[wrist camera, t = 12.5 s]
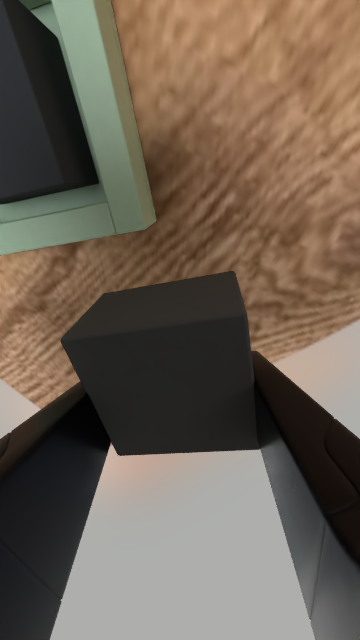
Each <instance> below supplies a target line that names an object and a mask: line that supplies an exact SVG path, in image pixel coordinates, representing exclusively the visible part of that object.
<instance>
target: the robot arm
mask: <svg viewBox="0 0 360 640" xmlns="http://www.w3.org/2000/svg"><path fill="white" fill-rule="evenodd" d="M251 355H252V364H253V373H254V396H255V411H256V426H257V439H258V442H259V446H260V449H261V452H262V456H263V459H264V463H265V467H266V470H267V473H268V477H269V480H270V484H271V487H272V491H273V494H274V498H275V501H276V505H277V508H278V511H279V515H280V519H281V522H282V525H283V529H284V532H285V536H286V539H287V542H288V546H289V550H290V553H291V557H292V560H293V563H294V567H295V570H296V574H297V577H298V580H299V584H300V587H301V591H302V595H303V598H304V601H305V605H306V608H307V612H308V615H309V618H310V620H311V626H312V629H313V632H314V636H315V640H360V439H359V438H358V437H357V436H355V435H354V434H353V433H352V432H351V431H349V430H348V429H347V428H346V427H345V426H344V425H342V424H341V423H340V422H339V421H338V420H336V419H334V417H333V416H332V415H331V414H329V413H328V412H327V411H326V410H325V409H324V408H322V407H321V406H320V405H319V404H318V403H317V402H316V401H314V400H313V399H312V398H311V397H310V396H309V395H307V394H306V393H305V392H304V391H303V390H302V389H301V388H299V387H298V386H297V385H296V384H295V383H294V382H292V381H291V380H290V379H289V378H288V377H286V376H285V375H284V374H283V373H282V372H281V371H280V370H278V369H277V368H276V367H275V366H274V365H273V364H272V363H270V362H269V361H268V360H267V359H266V358H265V357H263V356H262V355H261V354H260V353H259V352H258V351H251ZM110 444H111V440H110V438H109V436H108V434H107V432H106V430H105V428H104V426H103V423H102V421H101V419H100V417H99V415H98V413H97V411H96V408H95V406H94V404H93V402H92V400H91V398H90V396H89V394H88V393H86V391H85V389H84V387H83V385H82V383H81V381H80V382H79V383H77V384H76V385H74V386H73V387H72V388H70V389H69V390H67V391H66V392H65V393H63V394H62V395H61V396H59V397H58V398H56V399H55V400H54V401H52V402H51V403H50V404H48V405H47V406H45V407H44V408H43V409H41V410H40V411H38V412H37V413H36V414H34V415H33V416H32V417H30V418H29V419H27V420H26V421H25V422H23V423H22V424H20V425H19V426H18V427H16V428H15V429H14V430H12V432H11V433H8V434H7V435H5V436H4V437H3V438H1V439H0V640H50V636H51V634H52V630H53V627H54V624H55V621H56V618H57V614H58V611H59V608H60V605H61V599H62V597H63V594H64V591H65V588H66V585H67V581H68V578H69V575H70V572H71V569H72V565H73V562H74V559H75V556H76V553H77V549H78V546H79V543H80V540H81V537H82V533H83V530H84V526H85V524H86V520H87V517H88V514H89V511H90V508H91V505H92V501H93V498H94V495H95V492H96V488H97V485H98V482H99V479H100V475H101V472H102V469H103V466H104V463H105V460H106V456H107V453H108V450H109V447H110Z"/></svg>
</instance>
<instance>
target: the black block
mask: <svg viewBox="0 0 360 640" xmlns="http://www.w3.org/2000/svg"><path fill="white" fill-rule="evenodd" d="M61 343H62V345H63V347H64V349H65V351H66V353H67V355H68V357H69V359H70V361H71V363H72V365H73V367H74V369H75V371H76V373H77V375H78V377H79V379H80V381H81V383H82V385H83V387H84V389H85V391H86V393H88V394H89V396H90V398H91V400H92V402H93V404H94V406H95V408H96V411H97V413H98V415H99V417H100V419H101V421H102V423H103V426H104V428H105V430H106V432H107V434H108V436H109V438H110V440H111V443H112V445H113V446H114V448H115V450H116V452H117V454H118V455H120V456H122V455H123V456H125V455H146V454H169V453H192V452H213V451H235V450H258V449H260V446H259V442H258V439H257V426H256V411H255V396H254V373H253V364H252V355H251V346H250V337H249V328H248V319H247V313H246V309H245V305H244V302H243V298H242V295H241V291H240V288H239V284H238V281H237V277H236V274H235V272H234V271H230V272H224V273H218V274H212V275H207V276H201V277H195V278H190V279H184V280H178V281H173V282H167V283H161V284H156V285H150V286H144V287H139V288H133V289H127V290H122V291H116V292H110V293H105V294H103V295H102V296H101V297H100V298H99V299H98V300H97V301H96V302H95V303H94V305H93V306H92V307H91V308H90V309H89V310H88V311H87V312H86V313H85V314H84V315H83V316H82V317H81V318H80V319H79V320H78V321H77V322H76V323H75V324H74V326H73V327H72V328H71V329H70V330H69V331H68V332H67V333H66V334H65V335H64V336H63V337H62V338H61Z"/></svg>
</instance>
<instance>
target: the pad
mask: <svg viewBox="0 0 360 640" xmlns="http://www.w3.org/2000/svg"><path fill="white" fill-rule="evenodd" d="M95 184H99V180H98V176H97V173H96V169H95V166H94V162H93V159H92V155H91V152H90V148H89V145H88V141H87V138H86V134H85V131H84V127H83V124H82V120H81V117H80V113H79V110H78V106H77V103H76V100H75V96H74V93H73V89H72V86H71V82H70V79H69V75H68V72H67V68H66V65H65V61H64V58H63V54H62V51H61V47H60V44H59V40H58V38H57V36H56V35H55V34H54V33H53V32H51V31H50V30H49V29H48V28H47V27H46V26H45V25H44V24H43V23H42V22H41V21H40V20H39V19H38V18H37V17H36V16H35V15H34V14H33V13H32V12H31V11H30V10H29V9H27V8H26V7H25V6H24V5H23V4H22V3H21V2H20V1H19V0H0V204H8V203H13V202H17V201H22V200H26V199H31V198H36V197H40V196H45V195H49V194H54V193H58V192H63V191H68V190H72V189H77V188H81V187H86V186H90V185H95Z"/></svg>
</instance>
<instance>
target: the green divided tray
mask: <svg viewBox="0 0 360 640" xmlns="http://www.w3.org/2000/svg"><path fill="white" fill-rule="evenodd" d="M19 1H20V2H21V3H22V4H23V5H24V6H25V7H26V8H27V9H29V10H30V11H31V12H32V13H33V14H34V15H35V16H36V17H37V18H38V19H39V20H40V21H41V22H42V23H43V24H44V25H45V26H46V27H47V28H48V29H49V30H50V31H51V32H53V33H54V34H55V35H56V36H57V38H58V40H59V44H60V47H61V51H62V54H63V58H64V61H65V65H66V68H67V72H68V75H69V79H70V82H71V86H72V89H73V93H74V96H75V100H76V103H77V106H78V110H79V113H80V117H81V120H82V124H83V127H84V131H85V134H86V138H87V141H88V145H89V148H90V152H91V155H92V159H93V162H94V166H95V169H96V173H97V176H98V180H99V184H95V185H90V186H86V187H81V188H77V189H72V190H68V191H63V192H58V193H54V194H49V195H45V196H40V197H36V198H31V199H26V200H22V201H17V202H13V203H8V204H0V256H1V255H6V254H12V253H18V252H23V251H29V250H34V249H40V248H45V247H51V246H57V245H62V244H68V243H73V242H79V241H85V240H90V239H96V238H101V237H107V236H112V235H116V234H124V233H130V232H135V231H141V230H145V229H147V228H148V227H149V226H151V225H152V224H153V223H154V222H156V215H155V210H154V205H153V200H152V196H151V191H150V186H149V181H148V176H147V172H146V167H145V162H144V157H143V152H142V148H141V143H140V138H139V133H138V128H137V124H136V119H135V114H134V109H133V104H132V100H131V95H130V90H129V85H128V80H127V76H126V71H125V66H124V61H123V57H122V52H121V47H120V42H119V37H118V33H117V28H116V23H115V18H114V13H113V9H112V4H111V0H19Z"/></svg>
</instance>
